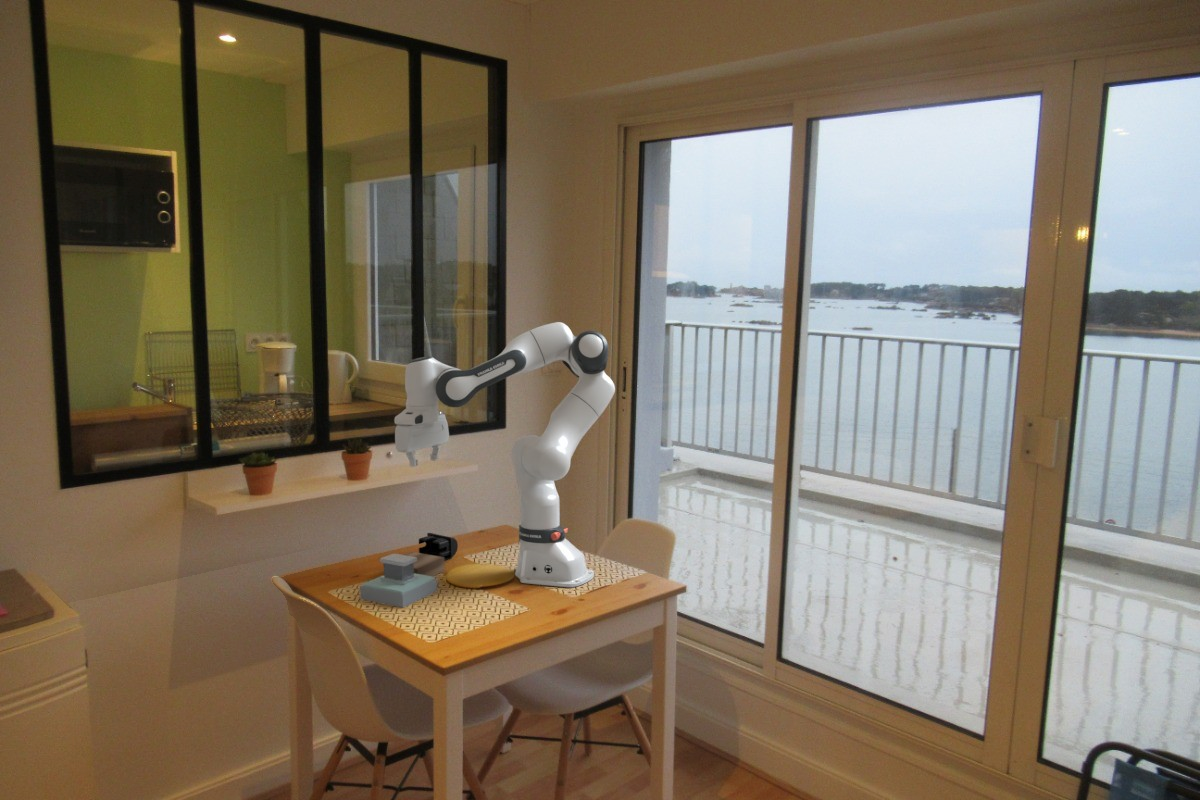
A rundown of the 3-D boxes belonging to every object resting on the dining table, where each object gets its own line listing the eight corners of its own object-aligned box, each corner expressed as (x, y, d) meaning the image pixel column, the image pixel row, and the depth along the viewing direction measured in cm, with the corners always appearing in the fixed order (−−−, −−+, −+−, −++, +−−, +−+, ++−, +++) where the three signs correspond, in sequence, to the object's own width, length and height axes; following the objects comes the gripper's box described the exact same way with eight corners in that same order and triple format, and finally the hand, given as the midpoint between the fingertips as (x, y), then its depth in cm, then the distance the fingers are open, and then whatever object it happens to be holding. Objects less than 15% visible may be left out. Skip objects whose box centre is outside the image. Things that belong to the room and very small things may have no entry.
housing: (417, 579, 223) (417, 557, 222) (404, 585, 218) (404, 562, 218) (393, 575, 226) (393, 553, 226) (380, 580, 222) (379, 558, 221)
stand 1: (444, 570, 243) (444, 557, 243) (417, 582, 233) (417, 568, 232) (411, 565, 249) (411, 551, 248) (383, 576, 238) (383, 562, 237)
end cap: (458, 557, 257) (458, 535, 256) (441, 563, 251) (441, 540, 250) (435, 552, 262) (434, 530, 262) (417, 557, 256) (417, 535, 256)
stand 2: (437, 591, 226) (437, 576, 225) (402, 607, 213) (402, 592, 213) (396, 583, 232) (395, 569, 232) (360, 599, 220) (359, 584, 219)
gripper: (435, 409, 249) (437, 456, 250) (390, 418, 230) (392, 468, 232) (453, 410, 246) (455, 457, 248) (408, 420, 228) (410, 470, 229)
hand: (424, 463), depth 240 cm, fingers open, 8 cm apart
